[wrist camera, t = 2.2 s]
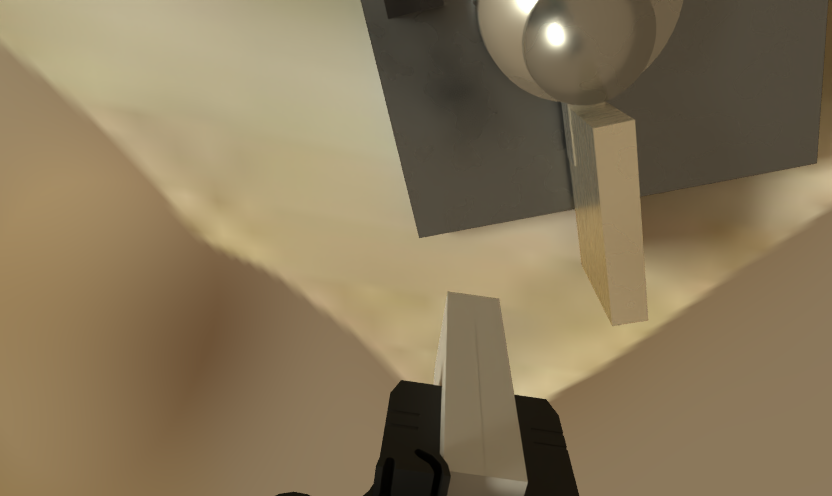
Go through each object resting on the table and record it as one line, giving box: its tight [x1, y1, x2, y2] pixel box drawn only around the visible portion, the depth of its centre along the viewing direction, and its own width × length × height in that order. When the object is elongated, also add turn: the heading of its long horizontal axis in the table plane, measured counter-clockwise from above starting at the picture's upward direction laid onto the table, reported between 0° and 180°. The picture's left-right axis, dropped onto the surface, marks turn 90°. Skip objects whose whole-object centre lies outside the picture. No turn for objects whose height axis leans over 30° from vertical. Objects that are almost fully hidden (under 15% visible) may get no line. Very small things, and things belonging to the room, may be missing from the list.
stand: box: [361, 0, 828, 238], centre depth 23 cm, size 19×20×5 cm
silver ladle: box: [476, 0, 683, 326], centre depth 22 cm, size 17×8×6 cm, turn 13°
